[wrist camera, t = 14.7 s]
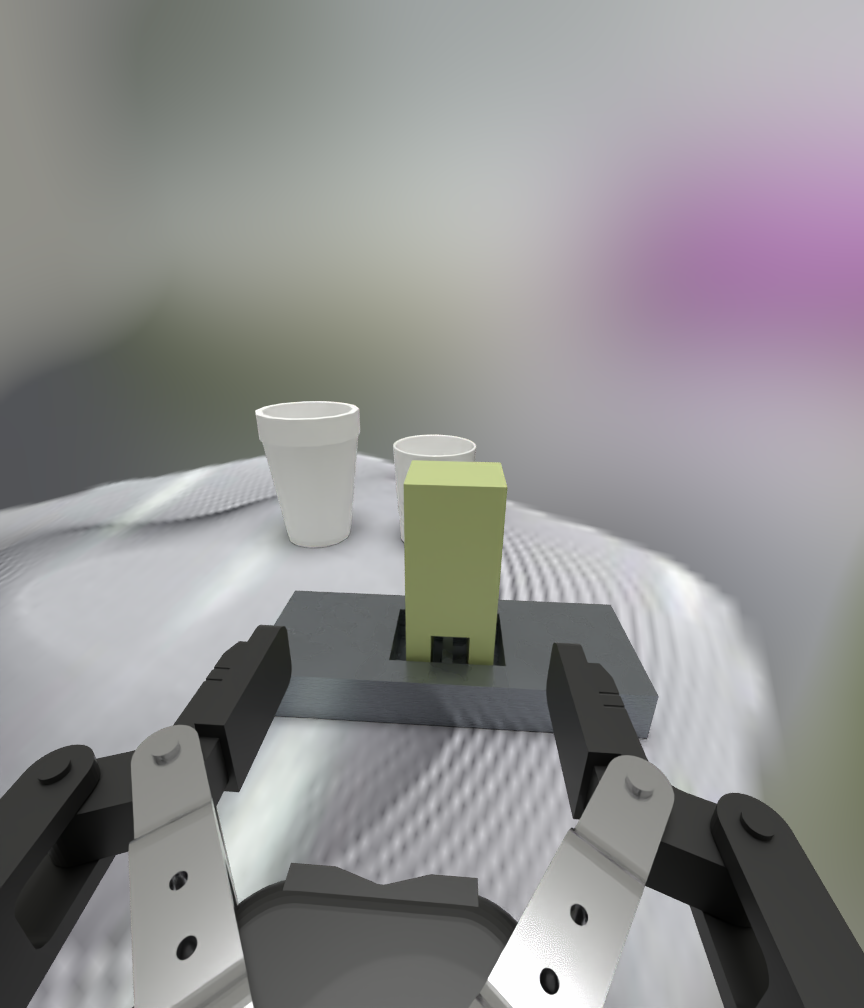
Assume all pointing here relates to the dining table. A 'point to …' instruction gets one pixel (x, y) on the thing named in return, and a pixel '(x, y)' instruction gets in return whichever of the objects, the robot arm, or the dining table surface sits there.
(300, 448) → the foam cup
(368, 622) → the grey flat block
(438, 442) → the white cup
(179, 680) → the dining table surface
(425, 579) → the olive green rectangular block
